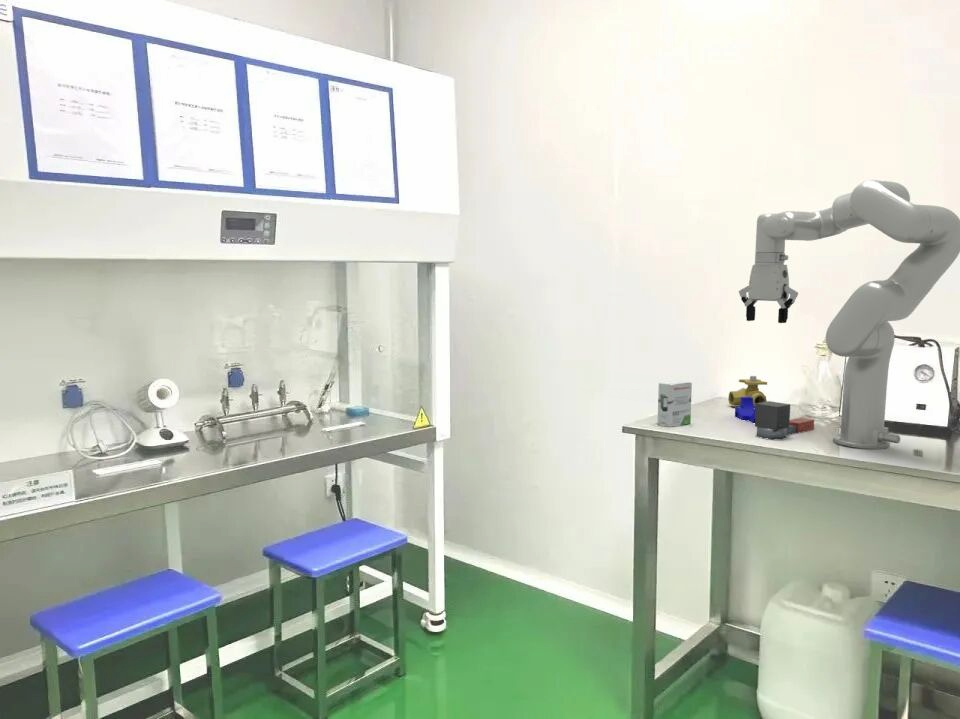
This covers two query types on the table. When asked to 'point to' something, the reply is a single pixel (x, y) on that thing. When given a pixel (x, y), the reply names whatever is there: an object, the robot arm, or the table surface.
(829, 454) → the table surface
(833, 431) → the table surface
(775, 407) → the dark cube on disc
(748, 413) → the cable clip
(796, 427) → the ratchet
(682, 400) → the ink box
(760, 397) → the ball valve
